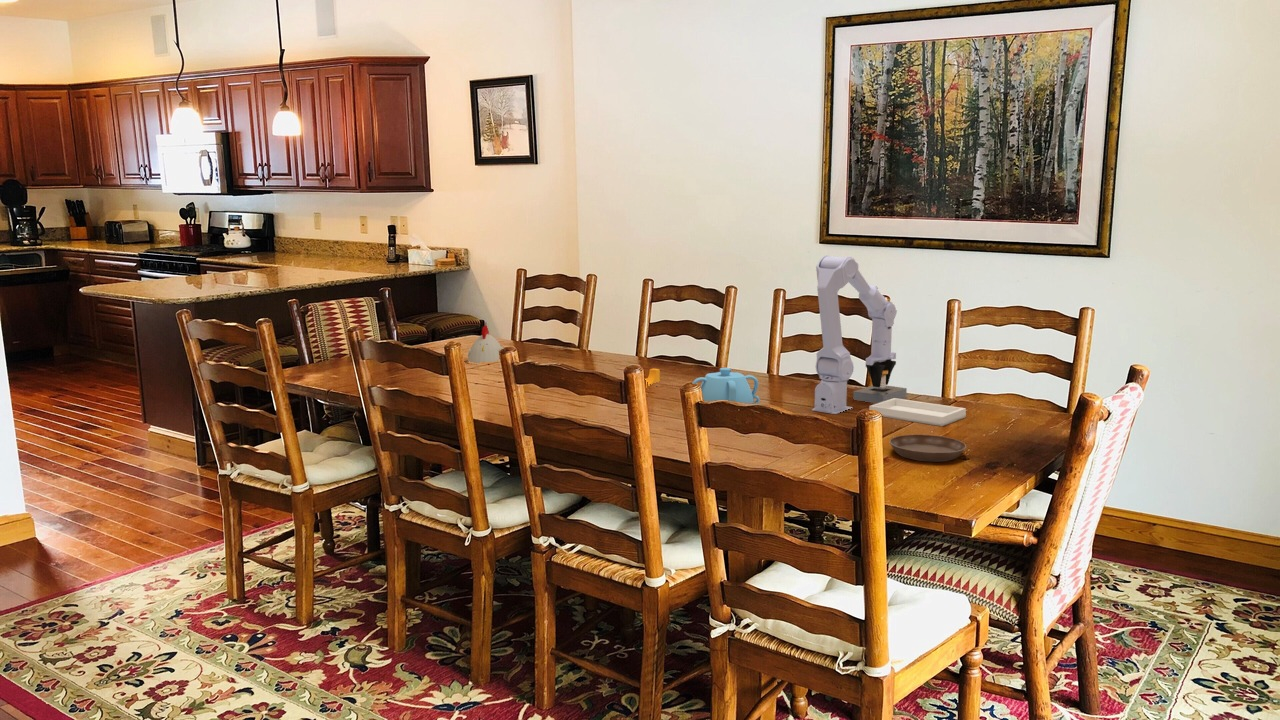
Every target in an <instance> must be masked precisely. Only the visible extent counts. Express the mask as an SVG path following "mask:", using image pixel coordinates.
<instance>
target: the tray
mask: <svg viewBox="0 0 1280 720" xmlns="http://www.w3.org/2000/svg"><path fill="white" fill-rule="evenodd" d="M869 410H876V411H878V412H880V413H881V414H882V416H883V417H882V416H881V417H882V418H889V419H894V420H900V421H906V422H912V423H918V424H919V423H920V424H924V425H925V424H927V425H932V426H936V427H937V426H938V427H943V426H947V425H950V424H952V423H955V422H957V421H960V420H962V419H965V418H966V417H967V415H966V414H967V413H966V412H967V408H964V407H961V406H960V407H958V406H952V405H944V404H939V403H931V402H924V401H917V400H910V399H905V398H904V399H897V398H893V399H890V400H886V401H883V402H880V403H877V404H872V405H869V409H868V411H869Z"/></svg>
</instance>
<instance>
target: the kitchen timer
mask: <svg viewBox="0 0 1280 720" xmlns="http://www.w3.org/2000/svg"><path fill="white" fill-rule="evenodd" d="M501 349H504V346H501V344H500V342H499V341H498V340H497V339H496V338H495V337H494V336H493V335H490V330H489V328H488V325H484V326H483V327H482V331H481V335H480V336H478V337H477V338H476V339H475V341H474V342H473V344H472V345H471V347H470V348H468V352H467V353H468V354H467V362H468V361H470V362H474V363H480V362H493V361H497V360H498V362H499V351H500V350H501Z"/></svg>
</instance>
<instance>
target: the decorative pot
mask: <svg viewBox="0 0 1280 720" xmlns="http://www.w3.org/2000/svg"><path fill="white" fill-rule="evenodd" d="M747 380H753V381H754V385H753V388H752V389H751V387H750V383H748V381H747ZM698 382H701V384H700V386H699V388H700V387H701V389H702V394H703V400H704V401H715V400H728V401H736V402H742V403H758V404H759V403H760V401H761V399H760V397H759V396H758V395H756V394H757V391H758V388H759V380H758V378H757V377H755V376H754V375H750V374H748V375H747V374H745V375H744V374H743V373H741V372H733V371H732V368H731V367H720V368H719V371H716V372H711V373H710V372H709V373H706V374H705V376H704V377H702V376H701V377H697V378H695V379H694V380H693V382H692V384H696V385H697V383H698ZM692 384H691V385H692ZM754 399H756V400H754Z"/></svg>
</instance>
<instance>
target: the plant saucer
mask: <svg viewBox="0 0 1280 720" xmlns="http://www.w3.org/2000/svg"><path fill="white" fill-rule="evenodd" d="M889 444H890V446H891V447H892V449H893V450H894V451H895V452H896V454H898V455H899V456H900V457H902V458H905V459H909V460H913V461H919V462H930V463H931V462H932V463H934V462H935V463H936V462H941V463H942V462H949V461H952V460H955V459H957V458H958V457H960V456H961V455H962V453H964V451H965V450H966V449H967V445H966V443H965V442H963V441H961V440H959V439H955V438H951V437H947V436H941V435H933V434H905V435H899V436H894V437H892V438H891V439H890V440H889Z"/></svg>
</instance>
